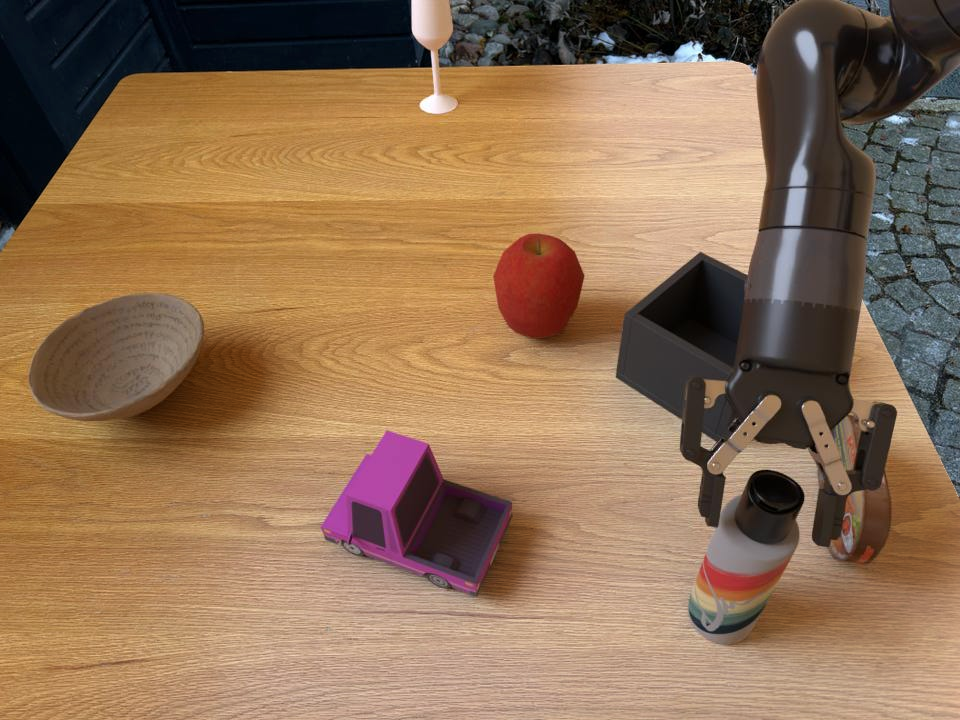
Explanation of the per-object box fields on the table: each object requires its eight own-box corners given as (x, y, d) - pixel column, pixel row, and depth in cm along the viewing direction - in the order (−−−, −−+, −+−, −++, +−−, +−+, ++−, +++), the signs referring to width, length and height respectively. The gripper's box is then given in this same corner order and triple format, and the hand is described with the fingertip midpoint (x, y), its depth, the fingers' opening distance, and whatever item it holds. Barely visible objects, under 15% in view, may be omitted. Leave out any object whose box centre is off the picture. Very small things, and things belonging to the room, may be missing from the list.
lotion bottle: (676, 623, 65) (721, 497, 51) (702, 573, 68) (752, 441, 54) (738, 659, 63) (804, 538, 48) (762, 605, 66) (832, 477, 52)
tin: (813, 446, 78) (839, 393, 72) (845, 450, 77) (874, 397, 71) (829, 577, 68) (860, 529, 62) (866, 583, 67) (901, 536, 61)
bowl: (58, 363, 90) (26, 315, 84) (212, 320, 94) (192, 272, 88) (59, 482, 78) (22, 435, 72) (235, 426, 82) (214, 378, 77)
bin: (789, 373, 85) (815, 308, 77) (721, 445, 78) (742, 382, 71) (685, 315, 92) (700, 251, 85) (615, 377, 85) (624, 313, 78)
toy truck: (376, 468, 78) (361, 407, 71) (515, 515, 73) (515, 455, 66) (323, 555, 71) (301, 497, 64) (473, 612, 67) (467, 557, 59)
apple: (502, 362, 87) (500, 271, 77) (488, 305, 94) (485, 215, 84) (588, 350, 88) (598, 258, 78) (568, 295, 95) (574, 204, 85)
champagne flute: (465, 102, 130) (457, -46, 113) (438, 117, 127) (425, -33, 110) (439, 91, 134) (427, -55, 116) (411, 105, 130) (395, -43, 113)
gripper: (701, 285, 50) (665, 529, 50) (935, 312, 47) (893, 569, 48) (690, 292, 57) (659, 505, 58) (892, 316, 54) (856, 539, 55)
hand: (765, 533), depth 53 cm, fingers open, 7 cm apart
